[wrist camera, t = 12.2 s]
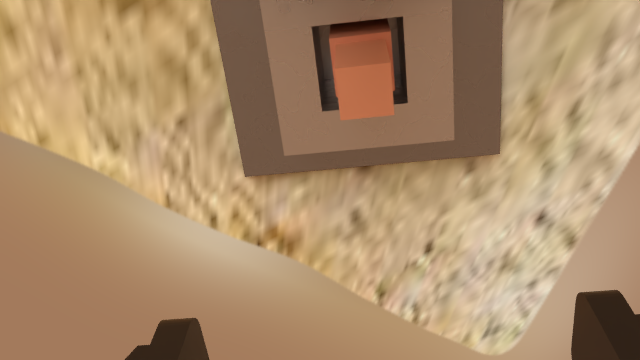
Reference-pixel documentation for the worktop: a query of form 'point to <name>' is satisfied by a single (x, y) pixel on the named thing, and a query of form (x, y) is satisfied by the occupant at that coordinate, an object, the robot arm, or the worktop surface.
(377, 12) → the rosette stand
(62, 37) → the worktop surface
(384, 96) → the stepped block
